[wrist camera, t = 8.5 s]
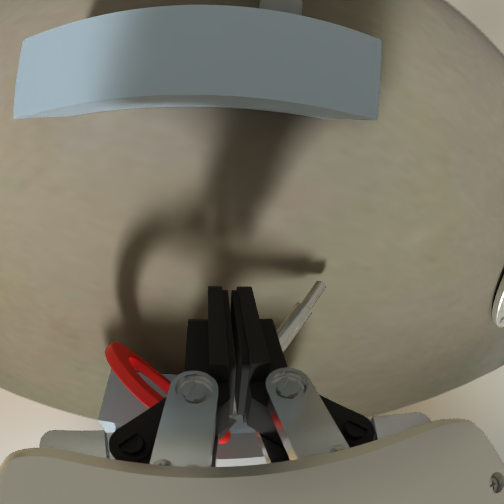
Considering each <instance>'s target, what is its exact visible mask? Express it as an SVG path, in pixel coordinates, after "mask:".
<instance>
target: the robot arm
mask: <svg viewBox="0 0 504 504" xmlns="http://www.w3.org/2000/svg"><path fill="white" fill-rule="evenodd" d="M492 318H493V321H494V322H495V323H496V324H497V325H498V326H499V327H504V275H503V278H502V280H501V282H500V285H499V288H498V290H497V293H496V297H495V300H494V304H493V309H492ZM234 395H235V403H236V411H237V415H243V422H244V423H245V422H247V425H248V426H249V427H251V428H253V429H254V430H256V436H257V439H258V441H259V444H260V447H261V449H262V452H263V454H264V457H265V460H266V462H267V464H259V465H247V466H230V467H216V463H217V453H218V443H219V434H220V433H222V432H223V431H224V430H225V429H226V428H227V427H228V426H229V416H230V415H233V406H234ZM0 504H504V463H503V462H502V460H501V458H500V456H499V454H498V453H497V451H496V449H495V448H494V446H493V445H492V443H491V442H490V440H489V439H488V437H487V436H486V435H485V433H484V432H483V431H482V430H481V429H480V428H479V426H477V425H476V424H475V423H473V422H471V421H469V420H464V419H442V420H437V421H432V422H431V421H430V418H429V417H427V416H426V415H425V414H422V413H420V412H413V413H404V414H394V415H383V416H373V417H372V419H368V418H366V417H365V416H363V415H361V414H359V413H356V412H354V411H352V410H350V409H348V408H345V407H343V406H341V405H339V404H337V403H335V402H333V401H331V400H329V399H327V398H325V397H323V396H321V395H319V394H318V392H317V391H316V389H315V387H314V385H313V384H312V382H311V380H310V379H309V378H308V376H307V375H306V374H304V373H303V372H302V371H300V370H297V369H294V368H288V367H287V364H286V361H285V358H284V355H283V351H282V348H281V345H280V342H279V338H278V335H277V332H276V329H275V326H274V322H273V320H272V319H259V315H258V311H257V307H256V303H255V299H254V295H253V291H252V287H237V290H232V292H231V310H230V306H229V298H228V290H222V286H208V320H200V319H189V320H188V330H187V344H186V361H185V372H183V373H181V374H179V375H177V376H176V377H175V378H174V379H173V380H172V382H171V384H170V387H169V391H168V394H167V397H165V398H164V399H162V400H161V401H160V402H158V403H157V404H155V405H154V406H152V407H151V408H149V409H148V410H146V411H145V412H143V413H142V414H140V415H138V416H137V417H135V418H134V419H132V420H131V421H129V422H128V423H126V424H124V425H123V426H121V427H120V428H118V429H117V430H116V431H115V432H113V433H105V431H103V430H101V431H65V430H52V431H48V432H47V433H45V434H44V435H43V437H42V438H41V441H40V448H28V449H22V450H18V451H15V452H13V453H11V454H9V455H8V456H7V457H6V458H5V460H4V461H3V463H2V465H1V466H0Z"/></svg>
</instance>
